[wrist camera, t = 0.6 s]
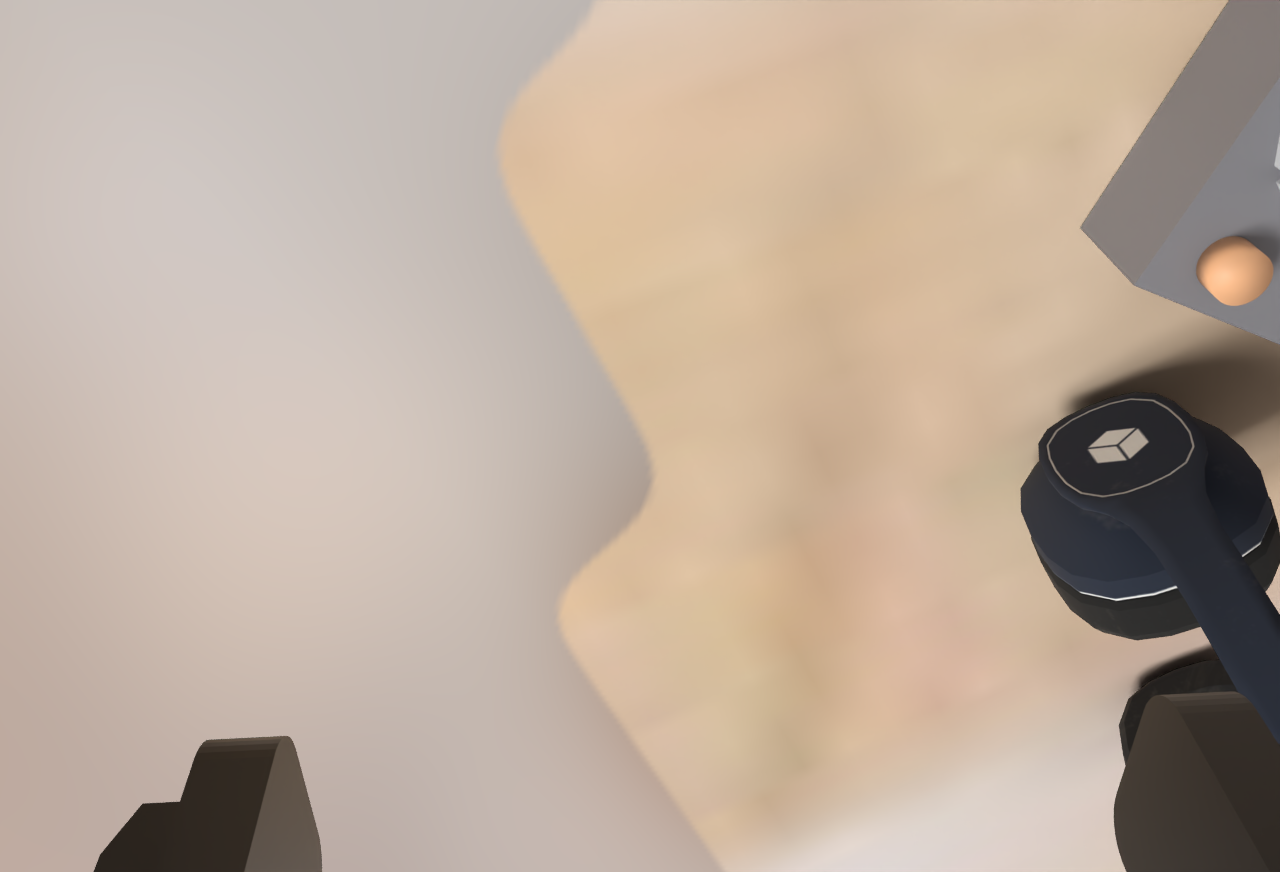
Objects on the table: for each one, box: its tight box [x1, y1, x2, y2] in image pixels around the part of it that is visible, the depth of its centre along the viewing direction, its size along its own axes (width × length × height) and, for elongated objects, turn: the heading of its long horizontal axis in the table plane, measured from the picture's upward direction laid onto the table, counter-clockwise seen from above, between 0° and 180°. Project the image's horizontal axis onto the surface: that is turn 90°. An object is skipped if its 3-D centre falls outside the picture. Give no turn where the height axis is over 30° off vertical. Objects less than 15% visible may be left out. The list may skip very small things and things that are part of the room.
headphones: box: [1021, 392, 1280, 765], centre depth 36 cm, size 20×7×18 cm, turn 27°
